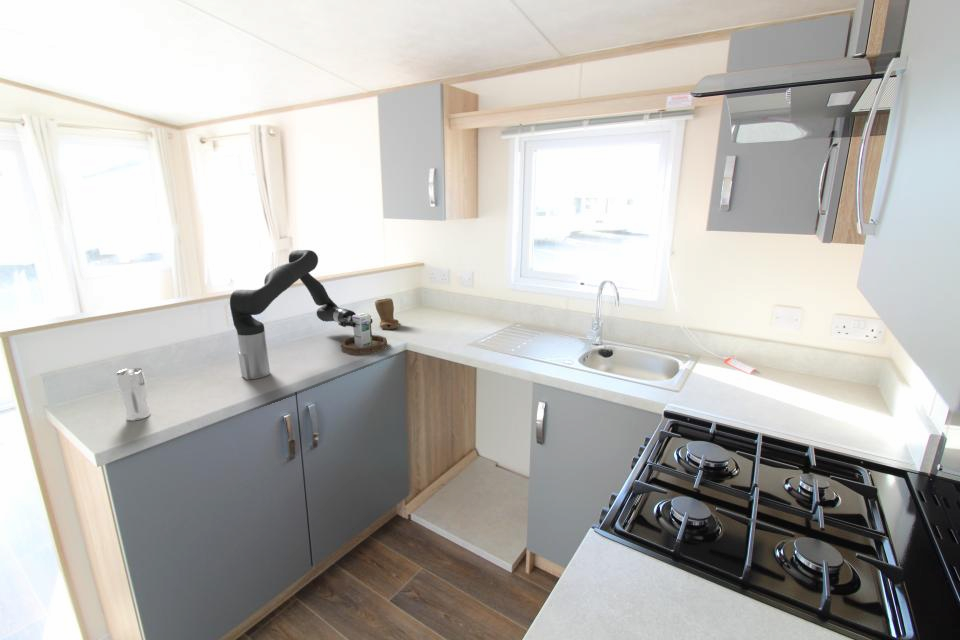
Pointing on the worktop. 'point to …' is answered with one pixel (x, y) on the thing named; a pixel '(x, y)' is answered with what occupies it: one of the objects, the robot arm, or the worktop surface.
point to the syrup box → (362, 330)
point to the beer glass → (133, 393)
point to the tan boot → (386, 313)
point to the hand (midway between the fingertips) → (363, 323)
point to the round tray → (377, 346)
